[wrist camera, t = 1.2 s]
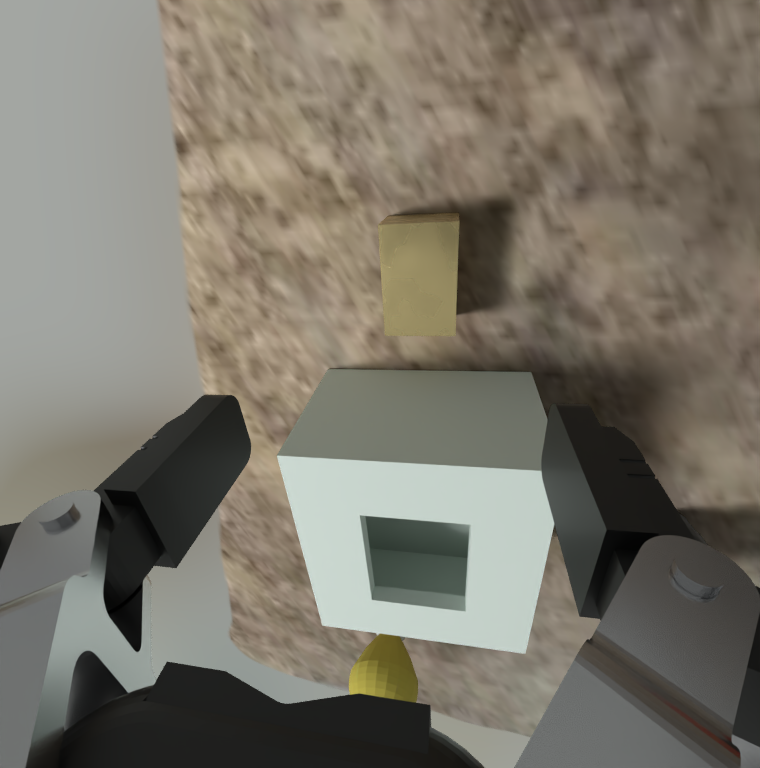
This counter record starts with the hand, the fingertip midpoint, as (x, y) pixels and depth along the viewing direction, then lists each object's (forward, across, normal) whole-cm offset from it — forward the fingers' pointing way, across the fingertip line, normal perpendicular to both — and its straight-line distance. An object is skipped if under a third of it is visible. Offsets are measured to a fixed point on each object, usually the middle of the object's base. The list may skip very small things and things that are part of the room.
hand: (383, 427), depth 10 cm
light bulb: (+16, +4, +38) cm, 41 cm away
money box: (+16, 0, +15) cm, 22 cm away
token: (+16, 0, 0) cm, 16 cm away
